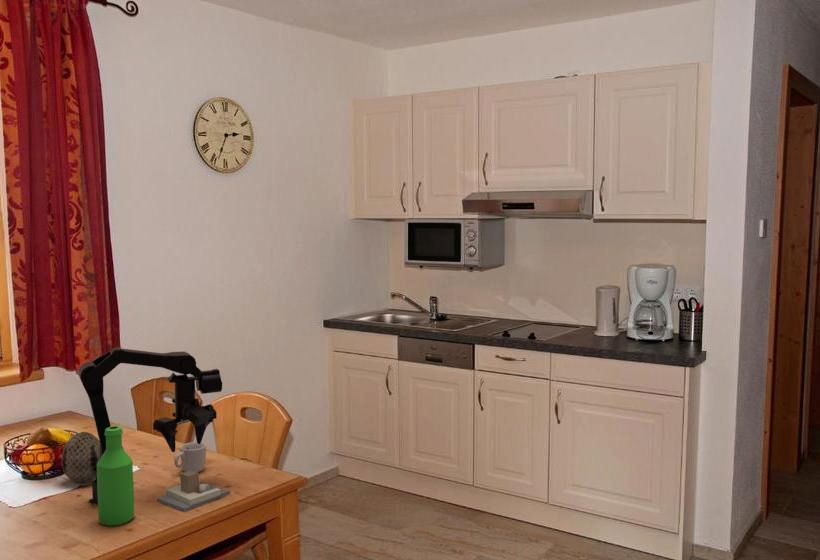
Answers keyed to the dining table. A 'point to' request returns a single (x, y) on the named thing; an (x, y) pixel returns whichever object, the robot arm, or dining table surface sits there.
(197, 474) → the two-prong bracket
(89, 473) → the decorative egg
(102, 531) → the dining table surface
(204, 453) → the cup
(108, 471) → the bottle
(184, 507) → the slate board
